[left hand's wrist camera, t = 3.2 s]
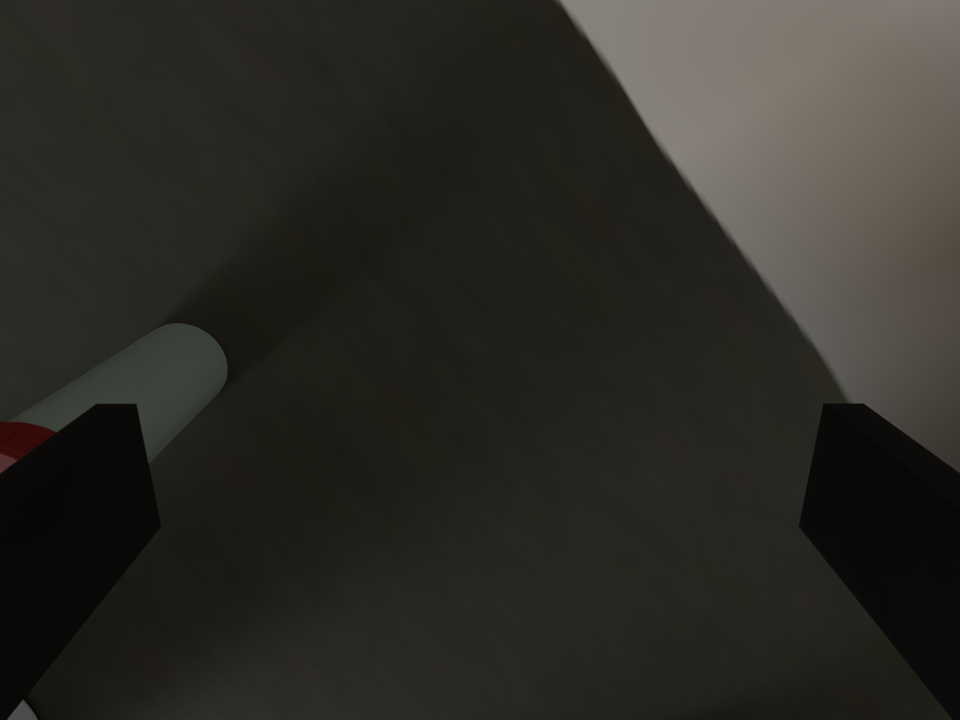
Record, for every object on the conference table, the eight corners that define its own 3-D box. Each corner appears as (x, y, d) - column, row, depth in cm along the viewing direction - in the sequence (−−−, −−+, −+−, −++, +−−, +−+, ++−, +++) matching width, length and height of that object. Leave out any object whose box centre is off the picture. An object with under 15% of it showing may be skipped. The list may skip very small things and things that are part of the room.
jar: (182, 418, 43) (5, 591, 27) (123, 352, 41) (-102, 495, 25) (245, 375, 42) (101, 529, 26) (187, 306, 40) (-5, 424, 24)
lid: (35, 571, 29) (-2, 608, 27) (-76, 468, 27) (-125, 499, 25) (137, 504, 28) (108, 537, 26) (28, 393, 26) (-15, 418, 24)
